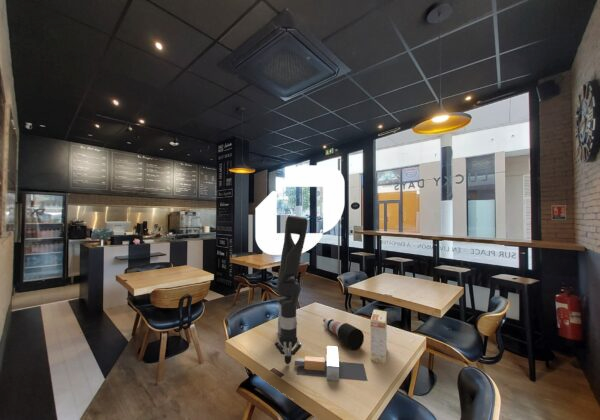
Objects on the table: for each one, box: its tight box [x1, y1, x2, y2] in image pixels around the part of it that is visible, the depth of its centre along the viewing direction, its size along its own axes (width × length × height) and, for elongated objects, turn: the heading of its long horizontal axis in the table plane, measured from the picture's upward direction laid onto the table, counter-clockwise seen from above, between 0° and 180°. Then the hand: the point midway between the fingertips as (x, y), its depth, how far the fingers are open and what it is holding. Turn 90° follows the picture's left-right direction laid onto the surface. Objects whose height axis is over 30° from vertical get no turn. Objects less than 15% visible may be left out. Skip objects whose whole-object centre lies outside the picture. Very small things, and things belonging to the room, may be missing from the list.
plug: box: [294, 355, 326, 371], centre depth 111 cm, size 14×3×4 cm, turn 83°
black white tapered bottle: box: [322, 317, 365, 351], centre depth 142 cm, size 10×34×10 cm, turn 23°
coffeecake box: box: [370, 309, 388, 365], centre depth 123 cm, size 15×7×20 cm, turn 157°
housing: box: [326, 345, 340, 382], centre depth 110 cm, size 5×16×6 cm, turn 173°
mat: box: [296, 360, 368, 382], centre depth 110 cm, size 30×12×1 cm, turn 83°
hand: (288, 363), depth 112 cm, fingers closed
